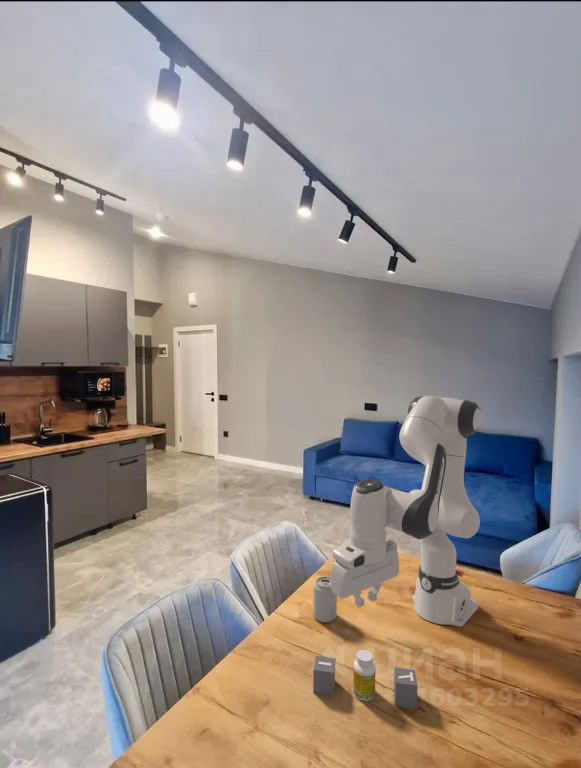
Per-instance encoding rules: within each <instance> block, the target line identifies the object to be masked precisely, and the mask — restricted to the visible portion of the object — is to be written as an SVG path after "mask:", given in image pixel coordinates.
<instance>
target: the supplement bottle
mask: <svg viewBox="0 0 581 768" xmlns="http://www.w3.org/2000/svg"><path fill="white" fill-rule="evenodd" d="M376 668H377V667H376V664H375V663H374V656H373V654H372V652H371V651H369V650H366V649H360V650H358V651H357V652H356V659H355V660H354V662H353V677H352V679H353V680H352V682H353V684H352V691H353V694H354V696H355V697H356V698H357V699H358V700H360V701H363V702H369V701H372V700H373V699H374V698H375V696H376V672H377V670H376Z"/></svg>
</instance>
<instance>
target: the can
mask: <svg viewBox="0 0 581 768" xmlns="http://www.w3.org/2000/svg"><path fill="white" fill-rule="evenodd" d="M337 599H338V596H336V595H335V594H334V593H333V592H332V590H331V576H326V575H325V576H319V577H316V580H315V582H314V584H313V598H312V600H313V601H312V602H313V603H312V604H313V605H312V606H313V607H312V608H313V609H312V615H313V617H314V618H315V619H316V620H317V622H320V623H324V624H325V623H326V624H327V623H332V621H334V620H335V619H336V618H337V605H338V603H337V602H338V601H337Z"/></svg>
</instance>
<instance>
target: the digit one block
mask: <svg viewBox="0 0 581 768" xmlns="http://www.w3.org/2000/svg"><path fill="white" fill-rule="evenodd" d="M312 676H313V679H312V680H313V682H312V683H313V685H312V688H313V689H312V690H313V691H312V692H313V693H314V694H319V695H325V696H332V697H334V694H335V683H336V658H335V657H328V656H322V655H316V656H315V659H314V665H313V675H312Z"/></svg>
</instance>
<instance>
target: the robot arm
mask: <svg viewBox="0 0 581 768" xmlns="http://www.w3.org/2000/svg"><path fill="white" fill-rule="evenodd" d="M481 423H482V412H481V408H480V406H479V405H478V404H477V403H476V402H474V401H471V400H466V399H465V400H464V399H463V400H462V399H458V398H453V397H446V396H445V397H441V396H440V397H439V396H434V395H424V396H416V397H414V398H413V399H412V400H411V401H410V403H409V405H408V409H407V415H406V418H405V420H404V422H403V424H402V425H401V428H400V431H399V436H398V437H399V442H400V446H401V447H402V448H403V450H404V451H405V452H406V454H408V456H410V457H411V458H412V459H414V460H416V461H417V462H420V463H421V464H422V465H424V467H425V470H424V474H423V478H422V484H421V485H422V486H421V489H413V490H410V491H409V492H406V491H402V490H399V489H396V488H394V487H393V488H392V487H388V486H385V485H384V483H383V482H382V481H381V480H377V479H373V478H372V479H362V480H361V481H360V480H359V481H358V482H356V483H355V484H354V486H353V487H352V488H353V489H352V492H351V498H350V510H349V521H350V523H351V526H350V530H349V537H348V538H347V539H345V541H344V542H343V543H341V544H339V546H337V547H336V548H335V549H333V551H332V558H333V559H334V560H335V561H333V564H332V566H331V571H330V572H331V573H330V578H331V590H332V592H333V593H334V594H335V595H336V596H337V598H340V599H341V600H344V599H346V598H349V597H351V596H353V597H354V605H355V607H357V608H362V607H364V606H365V599H364V598H363V597H362V596H361V595H362V594H363V593H362V592H363V591H366V590H368V589H370V590H369V591H368V592H367V595H368V596H367V599H368V601H370V602H372V603H373V602H375V601H377V600H378V594H379V592H380V589H381V587H382V584H383V583H385V582H387V581H389V580H392V579H394V578H396V577H397V576H398V575H399V573H400V560H399V559H400V558H399V553H398V545H397V544H398V543H396V541H395V540H393V539H388V540H387V532H386V528H389V529H392V530H395V531H398V532H401V533H404V534H405V535H407V536H410V537H412V538H413V539H417V540H418V541H419V544H420V545H419V546H420V564H419V566H418V577H417V578H416V584H415V591H414V592H415V593H414V594H413V595H412V601H413V609H414V611H415V613H416V614H417V615H418V616H419V617H421V618H422V619H424V620H426V621H427V622H431V623H433V624H438V625H448V626H450V625H451V626H453V627H455V626H456V627H460V628H461V627H464V625H465V624H466V623H467V622H468V621H469V620H470V618H471V617H472V616H473V615H474V614H475V613H476V612H477V611H478V610H479V604H478V603H477V602H476V601H475V600H474V599H473V598H472V594H471V590H470V589H469V587H468V586H467V585H466V584H464V583H463V582H462V581H460V580H459V577H460V578H462V577H463V576H464V575H465V574H464V570H461V569H460V568H457V550H456V549H457V548H456V547H455V544H454V543H453V541H451V539H449V537H448V536H447V534H448V535H450V536H452V537H456V538H463V539H470V538H472V537H474V535H476V534H477V533H478V531H479V528H480V525H481V519H480V514H479V512H478V511H477V509H476V508H475V506H474V505H473V504H472V502H471V501H470V499H469V496H468V494H467V491H466V487H465V481H464V479H465V477H464V476H465V465H466V459H467V447H468V445H467V444H468V443H467V439H468V437H469V436H472V435H474V434H475V433H476V432H478V430H479V428H480V425H481ZM397 578H398V577H397Z"/></svg>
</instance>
